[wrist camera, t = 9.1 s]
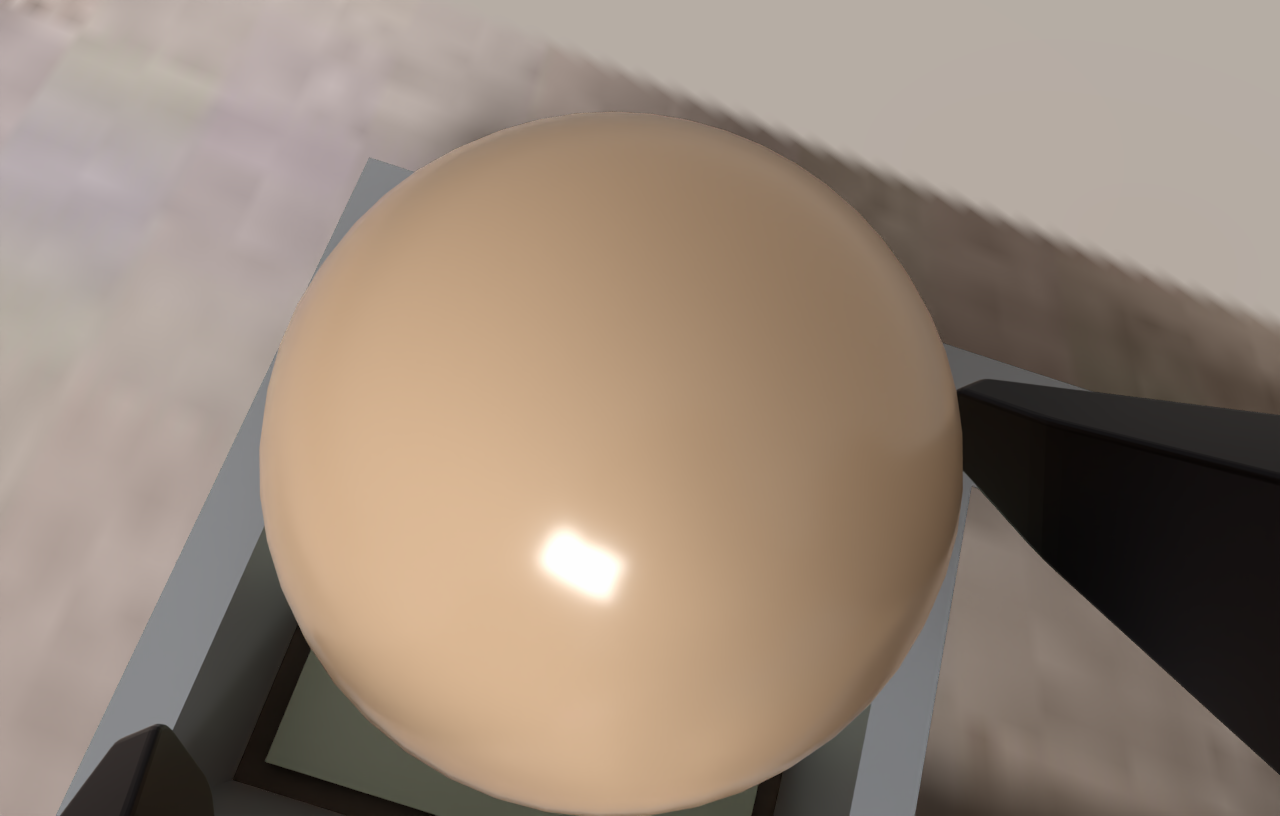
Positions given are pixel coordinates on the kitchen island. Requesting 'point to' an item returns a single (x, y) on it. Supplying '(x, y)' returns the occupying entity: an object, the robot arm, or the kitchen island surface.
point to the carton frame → (359, 752)
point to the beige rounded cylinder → (611, 464)
